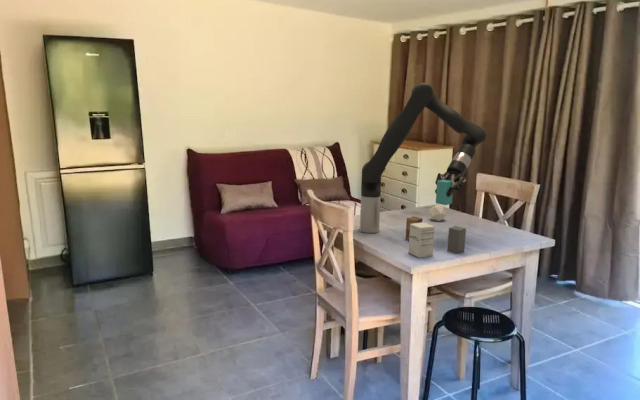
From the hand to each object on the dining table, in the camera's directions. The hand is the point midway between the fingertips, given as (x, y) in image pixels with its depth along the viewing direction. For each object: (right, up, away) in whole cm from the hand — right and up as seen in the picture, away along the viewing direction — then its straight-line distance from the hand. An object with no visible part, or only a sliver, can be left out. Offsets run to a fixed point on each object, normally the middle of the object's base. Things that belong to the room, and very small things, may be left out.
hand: (442, 194), depth 214 cm
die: (+9, -13, +47) cm, 49 cm away
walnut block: (-11, -20, +10) cm, 25 cm away
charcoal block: (+4, -24, -6) cm, 25 cm away
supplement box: (-12, -25, -11) cm, 30 cm away
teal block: (+1, -4, +2) cm, 5 cm away
